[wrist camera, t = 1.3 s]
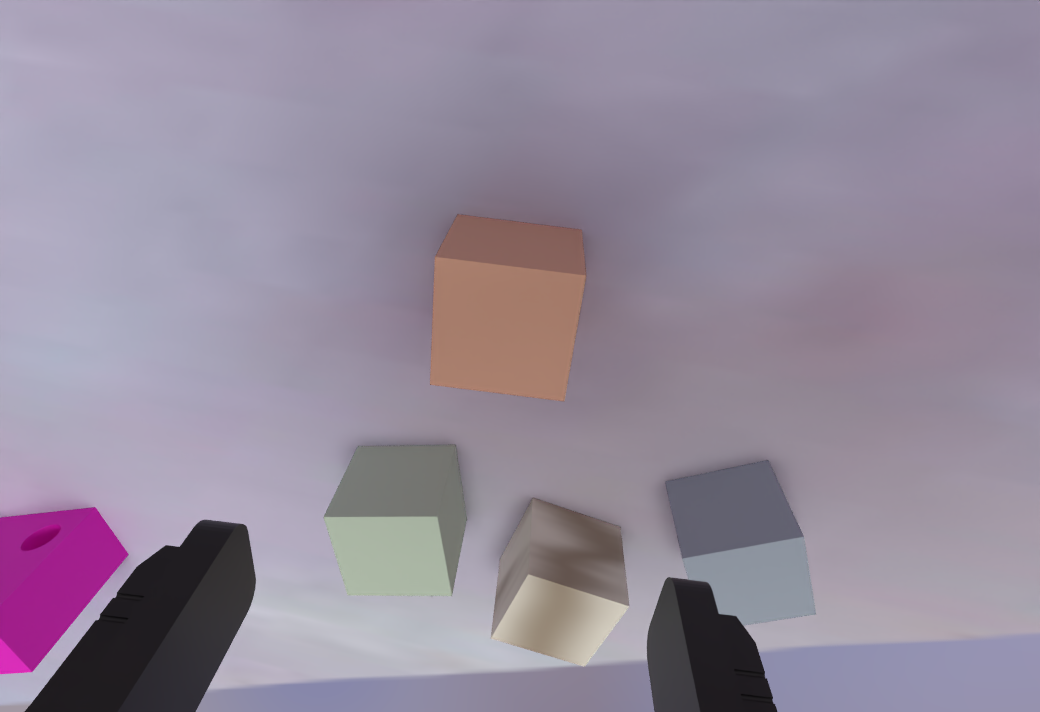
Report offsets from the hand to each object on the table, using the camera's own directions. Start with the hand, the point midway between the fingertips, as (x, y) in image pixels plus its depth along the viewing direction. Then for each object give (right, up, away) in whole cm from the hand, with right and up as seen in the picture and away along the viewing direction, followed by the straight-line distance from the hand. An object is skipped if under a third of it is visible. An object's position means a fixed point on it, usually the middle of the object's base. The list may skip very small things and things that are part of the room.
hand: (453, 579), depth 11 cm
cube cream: (+3, -6, +21) cm, 22 cm away
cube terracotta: (+1, +8, +14) cm, 16 cm away
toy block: (-29, -8, +25) cm, 39 cm away
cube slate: (+12, -3, +19) cm, 23 cm away
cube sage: (-4, -2, +20) cm, 20 cm away
